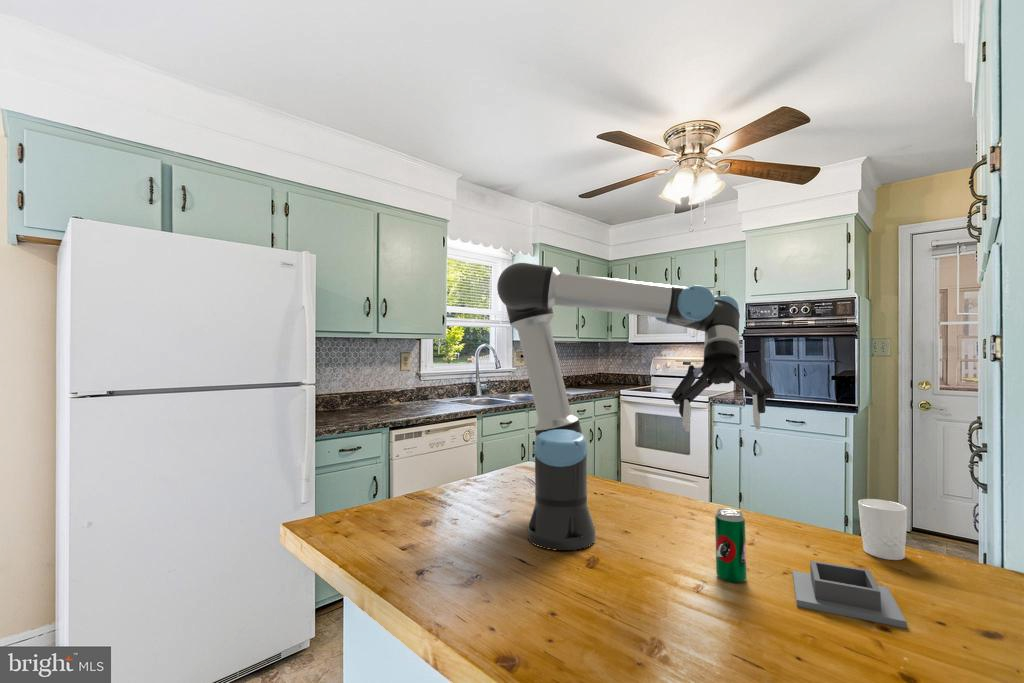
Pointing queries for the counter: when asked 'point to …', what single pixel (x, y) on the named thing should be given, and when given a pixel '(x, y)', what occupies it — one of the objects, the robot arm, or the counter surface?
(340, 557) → the counter surface
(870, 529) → the white cup
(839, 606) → the mount
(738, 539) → the soda can
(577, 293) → the robot arm
